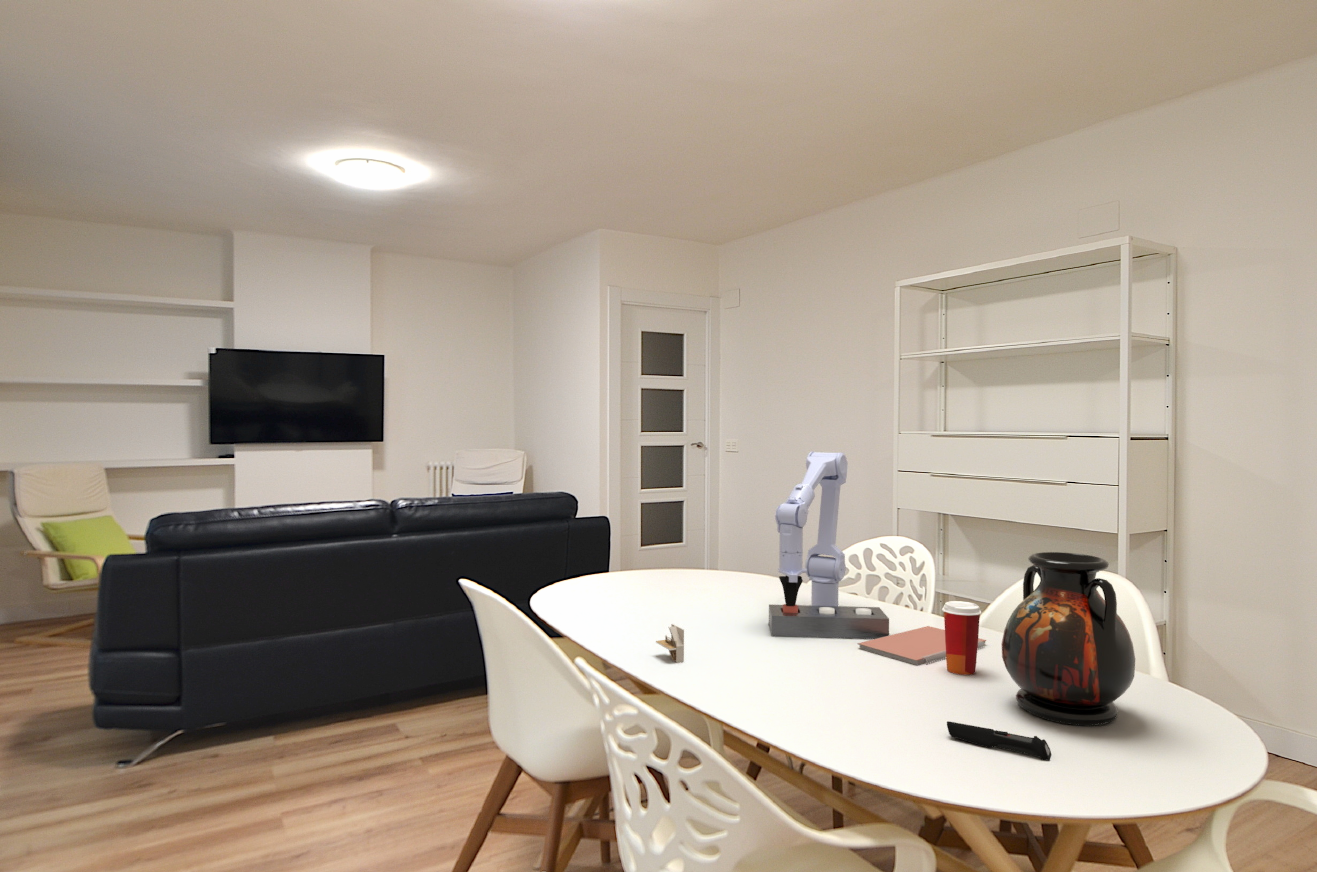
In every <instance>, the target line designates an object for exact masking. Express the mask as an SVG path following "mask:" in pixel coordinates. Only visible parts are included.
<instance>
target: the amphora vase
mask: <svg viewBox="0 0 1317 872" xmlns="http://www.w3.org/2000/svg"><path fill="white" fill-rule="evenodd" d="M1028 562H1030V563H1031V566H1028V567H1027V568H1026V571H1025V573H1024V576H1023V581H1022V582H1023V583H1022V591H1023V592H1022V593H1023V594H1022V595H1023V597H1022V601H1021V602H1020V603H1019V604H1018V605H1017V606H1016V607H1015V609H1014V610H1013V611H1012V612H1011V615H1010V616H1009V618H1008V620H1007V622H1006V626H1005V627H1004V630H1003V635H1002V640H1001V658H1002V661H1003V665H1004V667H1005V669H1006V671H1007V673H1008V674H1009V676H1010V677H1011V679H1012V680H1013V682H1014V683H1015V684H1016V685H1017V686H1018V687H1019V688H1020V689H1018V691H1017V692H1016V693H1015V700H1016V702H1017V704H1018V706H1019V707H1021V708H1022V709H1023V710H1025V711H1027V713H1029V714H1032V715H1034V716H1036V717H1039V718H1042V719H1043V720H1047V721H1051V722H1056V723H1059V724H1065V725H1073V726H1086V727H1087V726H1100V725H1104V724H1108V723H1111V722H1113V720H1115V719H1116V718H1117V717H1118V714H1119V709H1118V707H1117V705H1116V704H1115V703H1114V702H1115V701H1116V700H1118V699H1119V698H1120V697H1121V696H1123V695H1124V694H1125V693H1126V691H1127V690H1128V689H1129V688H1130V687H1131V685H1132V683H1133V681H1134V678H1135V670H1136V669H1135V668H1136V653H1135V648H1134V643H1133V640H1132V637H1131V635H1130V632H1129V630H1128V628H1127V626H1126V623H1125V622H1124V621H1123V619H1122V618H1121V617H1120V615H1119V614H1118V611H1117V610H1118V609H1117V608H1118V605H1117V604H1118V601H1117V594H1116V591H1115V589H1114V587H1113V584H1112V583H1111V582H1110V581H1108V580H1107V579H1104V578H1099V577H1097V578H1096V576H1097V573H1099V572H1100V571H1102V572H1103V571H1105V570H1107V569H1108V568H1109V562H1108V561H1107V560H1105V559H1104V558H1101V557H1098V556H1094V555H1088V554H1083V553H1076V552H1075V553H1074V552H1062V551H1061V552H1059V551H1056V552H1055V551H1049V552H1048V551H1046V552H1043V551H1042V552H1036V553H1032V554H1031V555H1029V557H1028ZM1037 574H1038V577H1039V579H1040V581H1039V584H1038V585H1037V587H1036V588H1035V589H1034V583H1035V576H1036V575H1037ZM1099 587H1100V588H1101V590H1102V593H1103V597H1104V598H1103V597H1102V595H1101V594H1100V593H1099V591H1098V588H1099Z"/></svg>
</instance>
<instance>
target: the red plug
mask: <svg viewBox="0 0 1317 872" xmlns="http://www.w3.org/2000/svg"><path fill="white" fill-rule="evenodd" d="M782 605H783V612H784V613H798V605H799V604H795V606H786V603H784V604H782Z"/></svg>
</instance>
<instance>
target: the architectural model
mask: <svg viewBox="0 0 1317 872" xmlns="http://www.w3.org/2000/svg"><path fill="white" fill-rule="evenodd" d="M668 629H669V632H670V634H671V635H670V637H669V636H667V634H665V639H660V640H656V641H655V643H656V644H658V645H660V646H661V647H663V648H664V649H666V650H668V652H669V655H670V658H671V660H672V661H675V662H676V664H680V662H681V663H684V662H685V629H683V628H681V627H679V626H677V625H675V624H674V623H671V626H668Z"/></svg>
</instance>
